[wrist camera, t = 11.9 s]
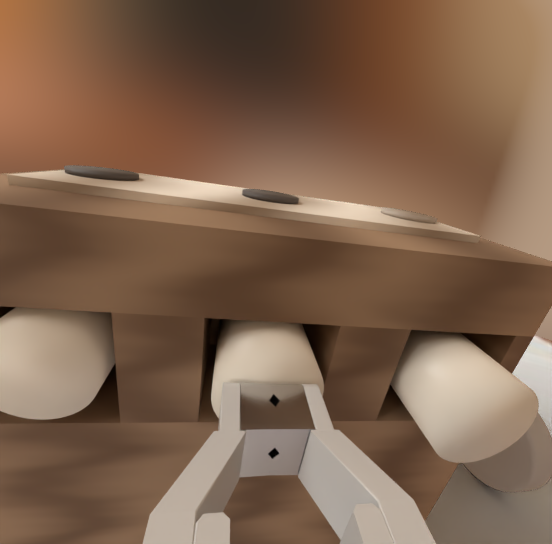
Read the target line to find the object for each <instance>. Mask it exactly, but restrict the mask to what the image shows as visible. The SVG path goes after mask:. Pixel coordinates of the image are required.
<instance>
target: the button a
mask: <svg viewBox="0 0 552 544" xmlns="http://www.w3.org/2000/svg"><path fill="white" fill-rule="evenodd" d="M114 364H115V352H114V340H113V328H112V316H111V313H110V312H92V311H75V310H57V309H40V308H23V307H16V308H14V309H13V310H11V311H10V312H8V313H7V314H5V315H4V316H2V317H1V318H0V411H2V412H4V413H7V414H10V415H14V416H17V417H22V418H27V419H39V420H46V419H57V418H62V417H66V416H69V415H72V414H75V413H77V412H79V411H81V410H82V409H84V408H85V407H86V406H88V405H89V404H90V403H91V402H92V401H93V399H94V398H95V396H96V395H97V393H98V391H99V389H100V388H101V386H102V384H103V383H104V381H105V379H106V378H107V376H108V374H109V373H110V371H111V369H112V368H113V366H114Z"/></svg>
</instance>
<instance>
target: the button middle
mask: <svg viewBox="0 0 552 544" xmlns="http://www.w3.org/2000/svg"><path fill="white" fill-rule="evenodd" d="M223 382H230V383H239V384H240V383H259V384H317V385H318V386H319V389H320V391H321V394H322V397H323V392H324V382H323V378H322V375H321V372H320V369H319V367H318V364H317V362H316V359H315V356H314V354H313V351H312V349H311V346H310V343H309V341H308V338H307V336H306V333H305V330H304V328H303V325H302V323H285V322H267V321H250V320H232V319H220V321H219V329H218V338H217V346H216V355H215V364H214V373H213V382H212V391H211V403H212V407H213V410H214V412H215V414H216V415H217V417H218V418H219V414H220V405H221V395H222V386H223Z"/></svg>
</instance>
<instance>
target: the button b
mask: <svg viewBox="0 0 552 544" xmlns="http://www.w3.org/2000/svg"><path fill="white" fill-rule="evenodd" d="M390 385H391V386H392V388H393V389H394V391H395V392H396V394H397V395H398V397H399V398H400V400H401V401H402V403H403V404H404V406H405V407H406V409H407V410H408V411H409V413H410V414H411V416H412V417H413V419H414V420H415V422H416V423H417V425H418V426H419V428H420V429H421V431H422V432H423V434H424V435H425V437H426V438H427V440H428V441H429V443H430V444H431V446H432V447H433V449H434V450H435V452H436V453H437V454H438V455H439V456H440V457H441V458H443V459H444V460H447V461H450V462H455V463H469V462H475V461H479V460H483V459H485V458H488V457H491V456H493V455H495V454H497V453H499V452H501V451H503V450H505V449H506V448H508V447H509V446H511V445H512V444H513V443H515V442H516V441H517V440H518V439H519V438H521V437H522V436H523V435H524V434H525V432H526V431H527V430H528V429H529V428H530V426H531V425H532V423H533V422H534V420H535V417H536V415H537V412H538V406H539V404H538V398H537V396H536V394H535V393H534V391H533V390H532V389H530V388H529V387H528V386H526V385H525V384H524V383H523V382H521V381H520V380H519V379H518V378H516V377H515V376H514V375H513V374H511V373H510V372H509V371H508V370H506V369H505V368H504V367H502V366H501V365H500V364H499V363H497V362H496V361H495V360H494V359H492V358H491V357H490V356H489V355H487V354H486V353H485V352H484V351H482V350H481V349H480V348H478V347H477V346H476V345H475V344H473V343H472V342H471V341H470V340H468V339H467V338H466V337H465V336H463V335H462V334H461V333H459V332H442V331H425V330H411V332H410V334H409V337H408V339H407V342H406V345H405V347H404V350H403V352H402V355H401V357H400V360H399V363H398V365H397V368H396V370H395V373H394V375H393V378H392V381H391V383H390Z"/></svg>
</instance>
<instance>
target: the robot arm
mask: <svg viewBox="0 0 552 544" xmlns="http://www.w3.org/2000/svg"><path fill="white" fill-rule="evenodd" d="M266 475H298V478H299V479H300V481H301V482H302V484H303V485H304V487H305V488H306V490H307V491H308V492H309V494H310V495H311V497H312V498H313V500H314V501H315V503H316V504H317V506H318V507H319V509H320V510H321V512H322V513H323V515H324V516H325V518H326V519H327V521H328V522H329V524H330V525H331V527H332V528H333V530H334V531H335V533H336V534H337V536H338V537H339V539H340V540H341V541H340V544H436V542H435V541H434V539H433V537H432V535H431V533H430V531H429V529H428V527H427V525H426V523H425V521H424V519H423V517H422V515H421V513H420V511H419V509H418V507H417V505H416V503H415V501H414V500H413V499H412V498H411V497H410V496H409V495H408V494H407V493H406V492H405V491H404V490H403V489H402V488H401V487H400V486H399V485H397V484H396V483H395V482H394V481H393V480H392V479H391V478H390V477H389V476H388V475H387V474H386V473H385V472H384V471H383V470H381V469H380V468H379V467H378V466H377V465H376V464H375V463H374V462H373V461H372V460H371V459H370V458H369V457H368V456H367V455H365V454H364V453H363V452H362V451H361V450H360V449H359V448H358V447H357V446H356V445H355V444H354V443H353V442H352V441H351V440H349V439H348V438H347V437H346V436H345V435H344V434H343V433H342V432H341V431H340V430H334V427H333V425H332V422H331V419H330V416H329V413H328V411H327V408H326V405H325V402H324V400H323V397H322V394H321V391H320V389H319V386H318V385H317V384H259V383H240V384H239V383H230V382H223V386H222V395H221V405H220V414H219V424H218V431H214V432H213V433H212V434H211V436H210V437H209V438H208V440H207V441H206V442H205V443H204V445H203V446H202V447H201V449H200V450H199V451H198V453H197V454H196V455H195V456H194V458H193V459H192V460H191V462H190V463H189V464H188V466H187V467H186V468H185V469H184V471H183V472H182V473H181V475H180V476H179V477H178V479H177V480H176V481H175V482H174V484H173V485H172V486H171V488H170V489H169V490H168V492H167V493H166V494H165V495H164V497H163V498H162V499H161V501H160V502H159V503H158V505H157V506H156V507H155V508H154V510H153V511H152V512H151V514H150V516H149V520H148V524H147V528H146V532H145V536H144V540H143V544H230V519H229V518H228V517H227V516H226V515H225V514H224V512H223V510H224V508H225V506H226V504H227V502H228V501H229V499H230V497H231V495H232V493H233V491H234V489H235V487H236V485H237V483H238V481H239V477H252V476H266Z"/></svg>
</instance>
